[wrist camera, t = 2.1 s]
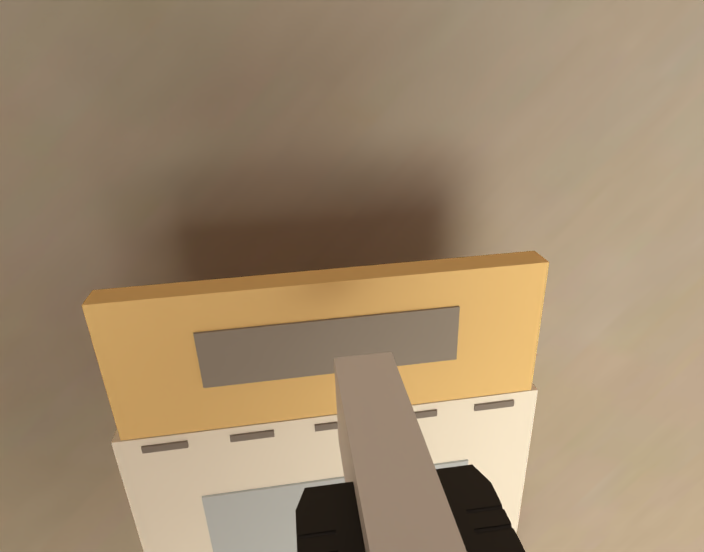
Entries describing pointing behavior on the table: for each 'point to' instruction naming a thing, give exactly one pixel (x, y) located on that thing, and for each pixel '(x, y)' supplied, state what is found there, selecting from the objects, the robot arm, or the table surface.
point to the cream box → (298, 471)
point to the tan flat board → (312, 339)
